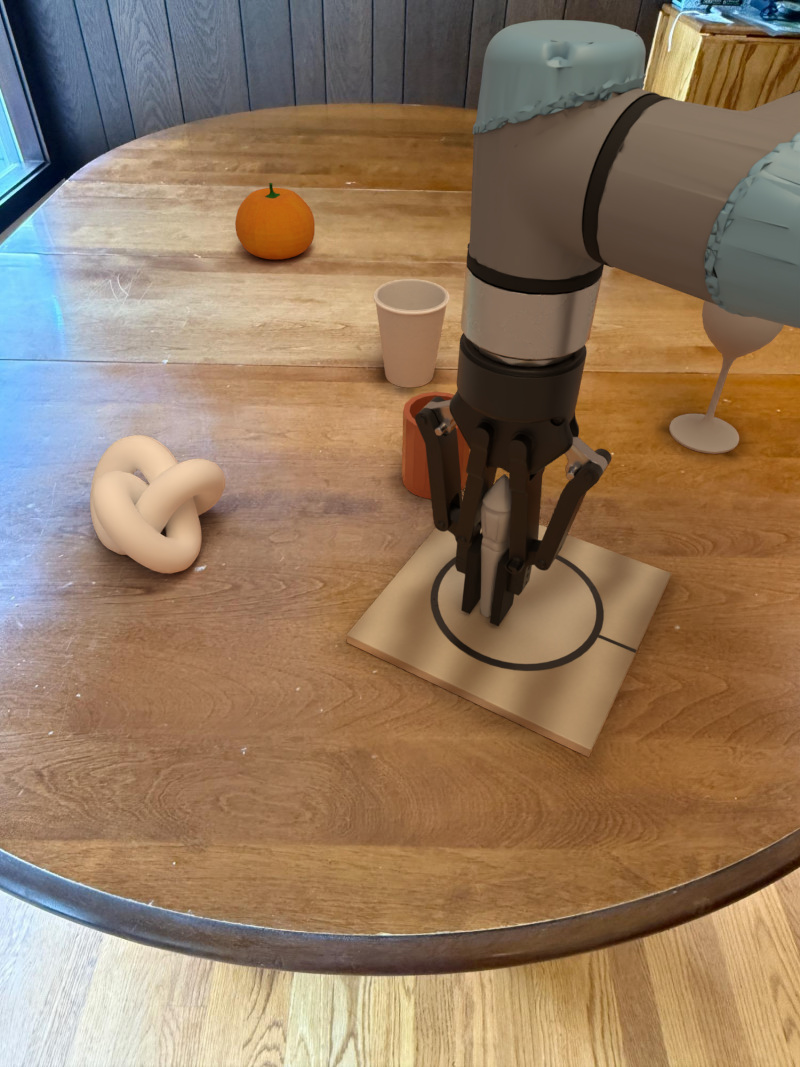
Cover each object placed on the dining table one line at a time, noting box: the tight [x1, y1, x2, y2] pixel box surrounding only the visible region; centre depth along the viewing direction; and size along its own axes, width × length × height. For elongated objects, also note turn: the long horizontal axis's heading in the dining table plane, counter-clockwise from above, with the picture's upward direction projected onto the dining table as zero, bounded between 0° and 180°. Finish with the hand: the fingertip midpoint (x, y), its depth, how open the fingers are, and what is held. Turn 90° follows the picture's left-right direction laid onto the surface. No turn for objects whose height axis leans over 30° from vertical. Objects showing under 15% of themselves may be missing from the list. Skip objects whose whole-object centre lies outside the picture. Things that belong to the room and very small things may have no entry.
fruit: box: [234, 182, 316, 261], centre depth 114 cm, size 12×12×10 cm
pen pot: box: [401, 391, 470, 500], centre depth 74 cm, size 6×6×8 cm
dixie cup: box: [372, 278, 451, 388], centre depth 88 cm, size 8×8×10 cm
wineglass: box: [668, 300, 785, 455], centre depth 76 cm, size 8×8×21 cm
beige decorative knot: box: [89, 434, 227, 574], centre depth 66 cm, size 11×12×9 cm
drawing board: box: [346, 495, 672, 758], centre depth 63 cm, size 20×20×1 cm
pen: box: [480, 473, 512, 618], centre depth 57 cm, size 2×3×14 cm
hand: (487, 607), depth 61 cm, fingers closed on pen, 2 cm apart
